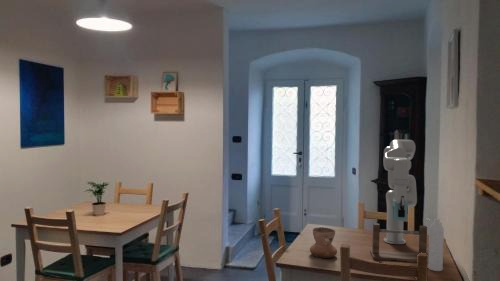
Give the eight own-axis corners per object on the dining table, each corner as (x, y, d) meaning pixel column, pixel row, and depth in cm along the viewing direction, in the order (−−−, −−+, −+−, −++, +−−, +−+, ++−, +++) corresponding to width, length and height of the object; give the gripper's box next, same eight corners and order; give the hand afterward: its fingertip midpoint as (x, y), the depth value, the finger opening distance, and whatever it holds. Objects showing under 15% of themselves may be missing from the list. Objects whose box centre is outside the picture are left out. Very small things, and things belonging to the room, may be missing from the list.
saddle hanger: (392, 217, 218) (392, 199, 217) (404, 218, 217) (405, 200, 216) (394, 220, 212) (395, 201, 211) (407, 221, 211) (407, 202, 210)
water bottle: (438, 266, 201) (440, 217, 201) (444, 271, 195) (446, 220, 194) (421, 266, 202) (422, 217, 201) (426, 271, 195) (428, 220, 194)
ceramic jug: (340, 261, 208) (341, 233, 208) (312, 260, 207) (313, 233, 207) (332, 251, 226) (333, 225, 226) (306, 250, 225) (307, 225, 225)
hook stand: (370, 252, 223) (370, 221, 222) (423, 255, 219) (424, 223, 218) (373, 259, 211) (374, 226, 211) (429, 263, 207) (430, 229, 206)
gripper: (390, 179, 223) (389, 212, 223) (396, 184, 206) (396, 219, 206) (404, 180, 222) (403, 212, 222) (412, 184, 204) (411, 219, 205)
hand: (399, 215), depth 214 cm, fingers closed on saddle hanger, 6 cm apart
